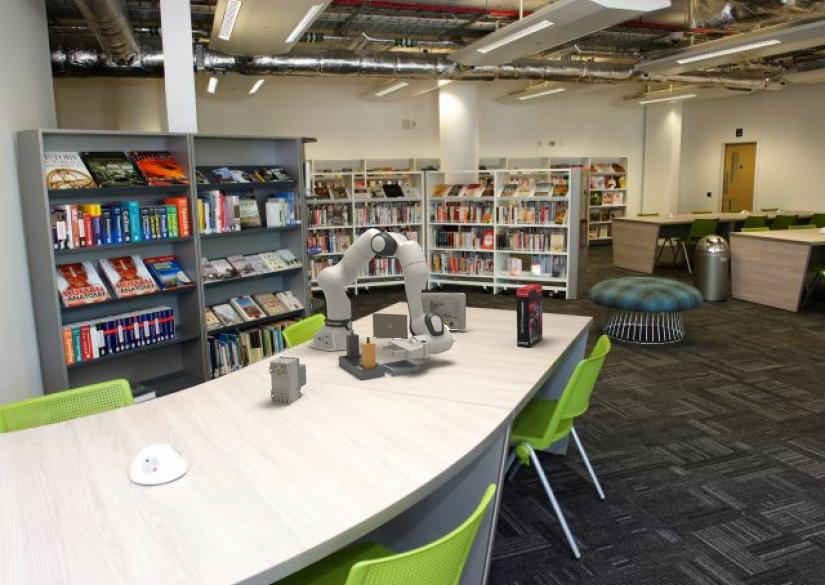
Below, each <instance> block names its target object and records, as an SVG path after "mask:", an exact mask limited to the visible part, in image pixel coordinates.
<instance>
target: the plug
mask: <svg viewBox="0 0 825 585" xmlns="http://www.w3.org/2000/svg"><path fill="white" fill-rule="evenodd" d="M361 354H362V368H364V369H367V368H373V367H376V362H377V361H376V343H375V342H373V341H371V339H370V336H366V342H362V343H361Z"/></svg>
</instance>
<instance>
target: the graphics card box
mask: <svg viewBox="0 0 825 585" xmlns="http://www.w3.org/2000/svg"><path fill="white" fill-rule="evenodd" d="M542 340H543V285H542V284H534V283H529V284H528V285H526V286H522V287H520V288H517V289H516V341H517V342H516V346H517V347H522V348H531V347H532V346H534V345H535V344H537V343H539V342H541V341H542Z"/></svg>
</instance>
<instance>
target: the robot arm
mask: <svg viewBox="0 0 825 585" xmlns="http://www.w3.org/2000/svg"><path fill="white" fill-rule="evenodd" d="M375 256H379V257H382V258H383V257H385V258H397V259H398V261H399V264H400V267H401V268H400V269H401V270H402V275H403V279H404V291H405V298H406V304H407V309H408V314H409V315H408V316H409V326H408V328H409V333H411V334H412V337H411V338H410V339H408V340H406V339H388V341H387V342H388V344H386V345H382V350H383V351H385V352H387V351H388V350H392V355H393V356H395V357H398V356H403V357H406V358H408V359H412V360H413V359H414V360H415V359H416V360H417V359H428V358H429V355H438V354H442V353H443V354H444V353H445V352H448V351H450V350H451V349H452V347H453V345H454V336H453V335H454V334H451V333H452V332H450V331H448V330H447V328H446V327H445V325H444V322H443V318H442V316H441V315H440V314H439V313H438V312H436V311H429V312H427V313H425V314H424V313H423V308H422V302H421V293H422V291H423V289H424V286H425V285H426V284H427V281H428V280H429V276H430V275H429V274H430V273H429V267H428V264H427V259H426V257H425V254H424V251H423V250H422V247H421V246H420V244H419V243H418V242H417V240H413V239H412V240H411V239H410V238H409V237H408V236H407V235H405V234H402V233H398V232H392V231H391V232H390V231H389V232H386V231H380V230H379V229H377V228H369V229H367V230H366V231H364V232H363V233H362V234H361V235H359V237H358V238H356V239H355V240H354V242H353V243H352V244H351V245H350V246H349V247H348V248H347V249H346V250H345V251H344V253H343V257H342V258H341V260H340V261H339V262H338V263H337V264H335V265H331V266H327V267H325V268H323V269H322V270H321V271H319V273H318V274H317V277H316V282H317V285H318V287H319V288H320V290H322V292H323V294H324V297H325V301H326V311H327V312H326V313H327V317H326V318H324V319H323V320H322V323H324V325H323V326H321V328H319V329H318V330H317V331H316V332H314V334H313V340H312V341H311V342H310V343H309V344H308V348H310V349H311V348H312V349H316V350H321V351H327V352H335V351H347V347H346V335H350V334H351V329H353V316H352V309H351V307H352V306H351V305H352V303H351V300H350V298H349V296H348V295H347V292H346V287H349V286H351V285H352V284H354V282H356V281H357V278H358V276H359V275H360V273H361V271H362V270H363V269H364V267H366V266H367V265H368V264H369V263H370V261H372V260H373V258H374V257H375Z"/></svg>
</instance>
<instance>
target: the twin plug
mask: <svg viewBox="0 0 825 585" xmlns="http://www.w3.org/2000/svg"><path fill="white" fill-rule="evenodd" d="M354 331H355V329H354V328H352V329H351V334H350V335H346V347H347V350H346V355H347V359H355V358H359V353H360V335H359V334H358V333H355V332H354Z"/></svg>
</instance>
